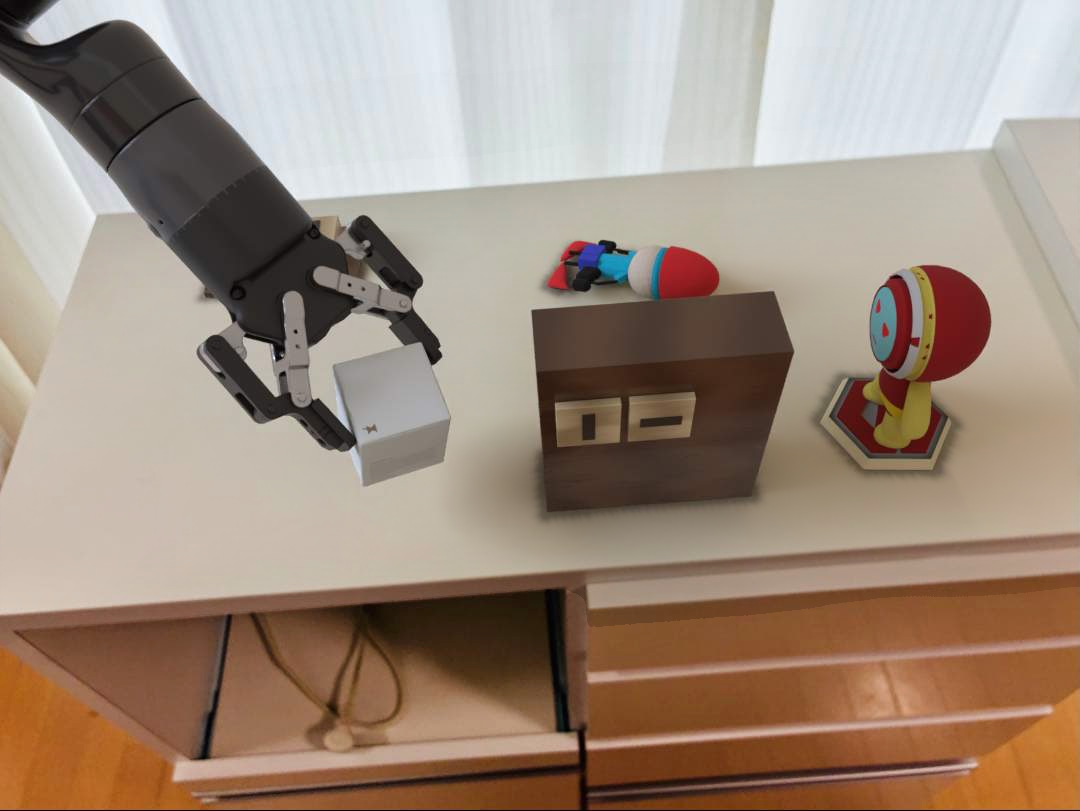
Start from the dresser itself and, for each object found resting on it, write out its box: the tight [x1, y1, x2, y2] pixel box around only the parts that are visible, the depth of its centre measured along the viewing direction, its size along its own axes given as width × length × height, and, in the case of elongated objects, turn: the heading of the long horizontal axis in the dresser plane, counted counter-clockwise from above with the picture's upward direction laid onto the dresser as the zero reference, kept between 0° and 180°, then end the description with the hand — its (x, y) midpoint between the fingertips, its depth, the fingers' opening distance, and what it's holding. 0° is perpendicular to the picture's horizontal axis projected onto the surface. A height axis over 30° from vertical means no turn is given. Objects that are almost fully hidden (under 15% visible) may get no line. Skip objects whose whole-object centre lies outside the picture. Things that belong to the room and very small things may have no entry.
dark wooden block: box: [530, 290, 795, 513], centre depth 55 cm, size 15×6×16 cm, turn 94°
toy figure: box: [546, 239, 721, 300], centre depth 73 cm, size 8×5×15 cm
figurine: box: [819, 264, 992, 471], centre depth 58 cm, size 9×10×15 cm
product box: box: [332, 342, 452, 488], centre depth 55 cm, size 6×6×7 cm
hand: (393, 403), depth 54 cm, fingers closed on product box, 8 cm apart
